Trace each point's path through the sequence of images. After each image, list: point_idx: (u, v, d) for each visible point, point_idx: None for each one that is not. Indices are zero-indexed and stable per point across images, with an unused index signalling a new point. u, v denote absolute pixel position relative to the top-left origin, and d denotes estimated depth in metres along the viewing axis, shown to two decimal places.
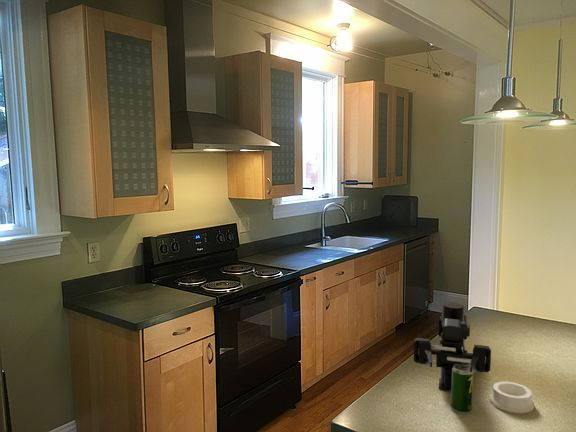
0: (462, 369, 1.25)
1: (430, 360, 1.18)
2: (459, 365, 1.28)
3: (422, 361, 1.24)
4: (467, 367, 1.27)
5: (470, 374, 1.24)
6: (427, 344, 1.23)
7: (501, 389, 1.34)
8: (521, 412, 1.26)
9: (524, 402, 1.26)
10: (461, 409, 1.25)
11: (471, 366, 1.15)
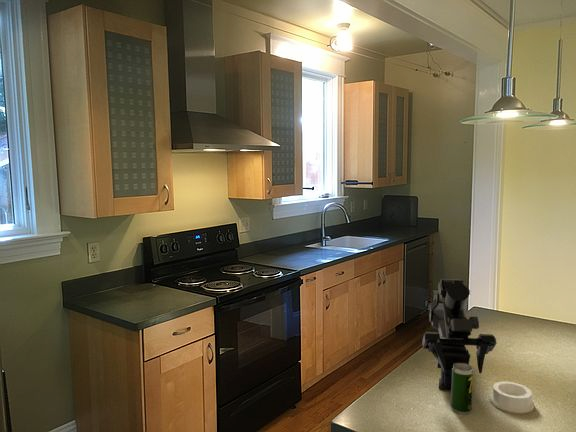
0: (462, 369, 1.25)
1: (444, 366, 1.27)
2: (459, 365, 1.28)
3: (431, 351, 1.33)
4: (467, 367, 1.27)
5: (470, 374, 1.24)
6: (438, 344, 1.29)
7: (501, 389, 1.34)
8: (521, 412, 1.26)
9: (524, 402, 1.26)
10: (461, 409, 1.25)
11: (481, 369, 1.26)
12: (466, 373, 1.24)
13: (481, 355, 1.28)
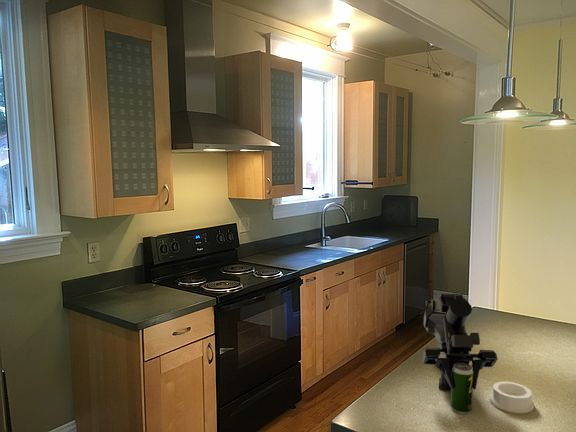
0: (462, 369, 1.25)
1: (451, 383, 1.26)
2: (459, 365, 1.28)
3: (438, 366, 1.32)
4: (467, 367, 1.27)
5: (470, 374, 1.24)
6: (445, 360, 1.28)
7: (501, 389, 1.34)
8: (521, 412, 1.26)
9: (524, 402, 1.26)
10: (461, 409, 1.25)
11: (475, 385, 1.25)
12: (466, 373, 1.24)
13: (475, 371, 1.27)
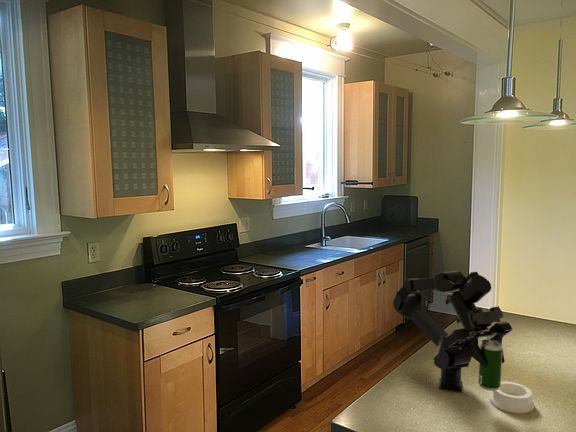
0: (495, 345, 1.23)
1: (485, 361, 1.23)
2: (487, 342, 1.26)
3: (462, 347, 1.28)
4: (494, 342, 1.26)
5: (502, 349, 1.24)
6: (475, 339, 1.25)
7: (501, 389, 1.34)
8: (521, 412, 1.26)
9: (524, 402, 1.26)
10: (495, 386, 1.24)
11: (503, 359, 1.26)
12: (499, 348, 1.23)
13: None
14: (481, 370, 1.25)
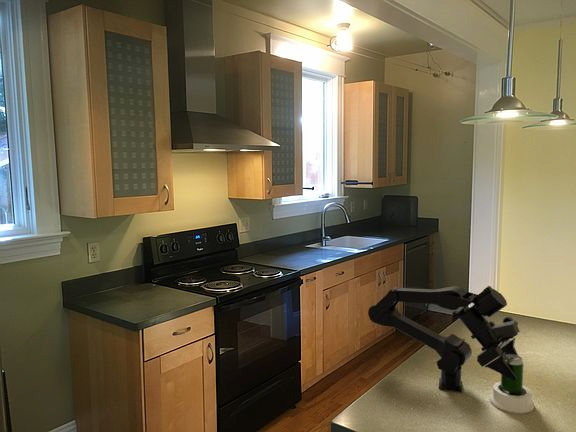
0: (518, 359, 1.28)
1: (514, 375, 1.26)
2: (508, 357, 1.30)
3: None
4: (512, 356, 1.31)
5: None
6: (504, 355, 1.25)
7: None
8: (521, 412, 1.26)
9: (524, 402, 1.26)
10: None
11: None
12: (522, 361, 1.29)
13: (515, 351, 1.34)
14: (508, 386, 1.29)
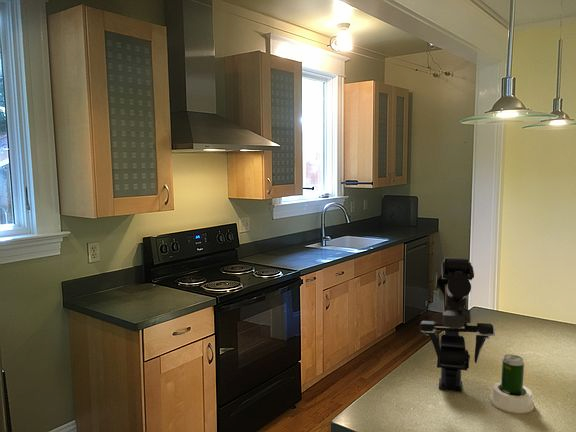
0: (519, 360, 1.28)
1: (438, 356, 1.29)
2: (509, 358, 1.30)
3: None
4: (513, 357, 1.31)
5: None
6: (432, 334, 1.29)
7: None
8: (521, 412, 1.26)
9: (524, 402, 1.26)
10: None
11: (475, 359, 1.24)
12: (523, 362, 1.29)
13: (477, 345, 1.25)
14: (508, 386, 1.29)
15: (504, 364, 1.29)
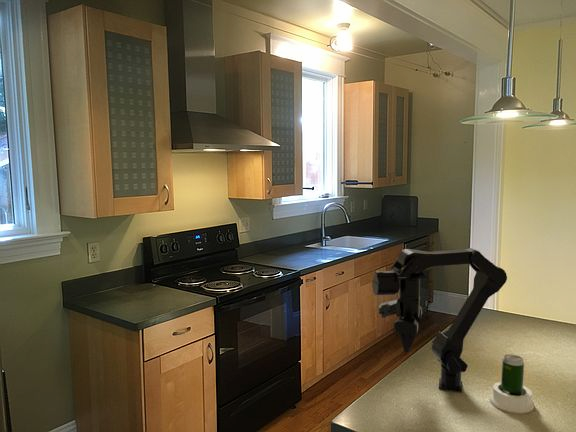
0: (519, 360, 1.28)
1: None
2: (509, 358, 1.30)
3: None
4: (513, 357, 1.31)
5: None
6: None
7: None
8: (521, 412, 1.26)
9: (524, 402, 1.26)
10: None
11: None
12: (523, 362, 1.29)
13: None
14: (508, 386, 1.29)
15: (504, 364, 1.29)
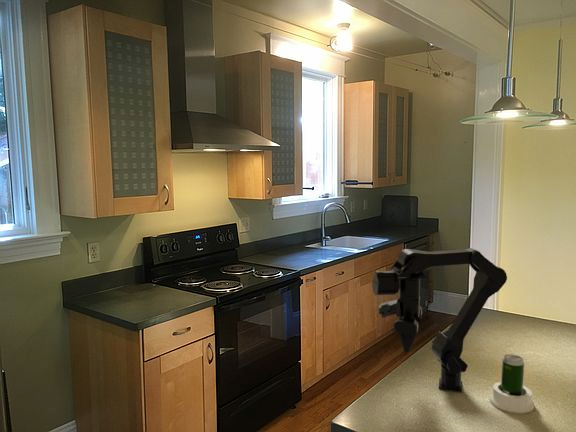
0: (519, 360, 1.28)
1: None
2: (509, 358, 1.30)
3: None
4: (513, 357, 1.31)
5: None
6: None
7: None
8: (521, 412, 1.26)
9: (524, 402, 1.26)
10: None
11: None
12: (523, 362, 1.29)
13: None
14: (508, 386, 1.29)
15: (504, 364, 1.29)
